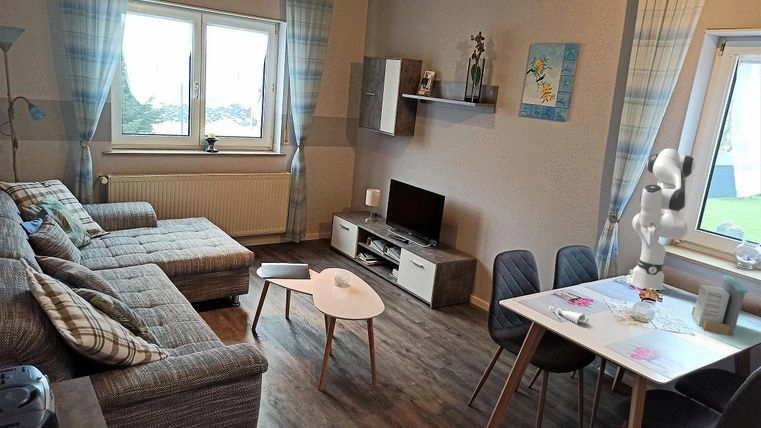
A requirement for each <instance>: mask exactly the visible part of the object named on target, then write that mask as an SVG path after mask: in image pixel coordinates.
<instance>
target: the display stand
mask: <svg viewBox="0 0 761 428" xmlns="http://www.w3.org/2000/svg"><path fill="white" fill-rule="evenodd" d="M722 279H723V281H722V282H723V283H722V286H721V288H723V289H724V290H725V291H726V292H727V293H729V294H730V296H729V300H728V303H727V307H726V311H725V315H724V319H723V322H722V323H717V322H711V321H706V320H705V323H704V327H703V326H702V330H703V331H706V332H713V333H717V334H723V335H729V336H734V334H735V329H736V326H737V323H738V319H739V316H740V312H741V309H742V305H743V302H744V298H745V294H747V293H748V289H747V288H746V287H744V286H743V285H742V284H740V282H738V281H737V280H736V279H734V277H732V276H731V275H725V274H724V275H723V276H722ZM694 310H695V306H693V307H692V311H691V316H692V317H693V314H694Z"/></svg>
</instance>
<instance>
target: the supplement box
mask: <svg viewBox="0 0 761 428" xmlns="http://www.w3.org/2000/svg"><path fill="white" fill-rule="evenodd" d="M729 296H730V294H729V293H727V292H726V291H725V290H724V289H723V288H722V287H719V286H714V285H708V284H700V287H699V290H698V294H697V299H696V302H695V306H694V307H695V310H694V314H693V316H692V320H694V322H695V323H696V325H698V326H699V327H702V328H703V327H704V323H705V320H706V321H711V322H717V323H722V322H723V319H724V315H725V311H726V307H727V303H728V300H729Z"/></svg>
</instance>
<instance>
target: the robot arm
mask: <svg viewBox="0 0 761 428" xmlns="http://www.w3.org/2000/svg"><path fill="white" fill-rule="evenodd" d="M695 166H696V162H695V158H694V157H693V156H690V155H687V154H686V155H683V154H680V153H679V151H677V150H676V149H674V148H665V149H663V150H661V151H660V152H659V153H655V154H651V155H649V157H648V159H647V161H646V168H647V171H648V173H651V174H653V176H654V177H655V178H656V179H657V180H658V181H657V183H656V184H647V185H645V186H644V187H643V189H642V191H641V194H640V200H639V204H640V208H641V210H640V212H639V213H637V214H636V215H634V217H633V219H632V222H631V223H632V224H631V225H632V228H633V230H634V231H635V232H636V233H637V234H638V236H639V238H640V239H641V253H640V257H639V258H638V260H637V265H636V266H635V267H633V269H629V274H627V275H626V284H628V285H631V286H633V287H635V288H637V289H641V290H643V289H644V288H652V289H657V290H659V291H658V292H660V291H665V290H666V287H664V286H663V285H664V280H665V274H664V272H663V270H664V261H665V256H666V251H667V249H666V247H665V245H663V244H661V243H660V242H659V237H660V238H665V239H670V240H682V239H683V238H685V237H686V236H687V234H688V232H689V226H688V223H687V222H686V221H685V220H684V219H683V218H682V217H681V216H680V214H679V211H681V210H683V209H684V208H685V207H686V205H687V202H688V201H687V199H688V197H687V193H686V181H685V180H686V178H687V177H690V176H691V174H692V173H693V171H695V168H696V167H695Z"/></svg>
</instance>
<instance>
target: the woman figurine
mask: <svg viewBox="0 0 761 428" xmlns="http://www.w3.org/2000/svg"><path fill="white" fill-rule="evenodd" d="M548 311H549V312H550V311H551V312H550V313H554V314H555V313H556V314H555V315H556V316H557V317H558V318H559V319H560V318H561V316H560V315H562V316H563V317H564V318H565V319H567V320H569V321H570V320H571V321H570V322H572V321H573V323H574V322H575V324H576V325H578V322H579V323H584V324H586V323H588V322H589V320H590V318H589V317H587V318H586V315H585V314H584V313H579V312H574V311H570V310H569V311H568V310H562V308H561V307H560V308H555V306H552V305H550V306H549V307H548ZM559 314H560V315H559Z"/></svg>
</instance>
